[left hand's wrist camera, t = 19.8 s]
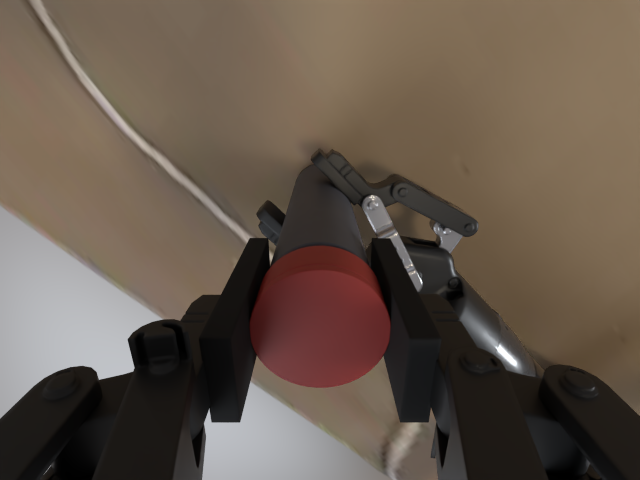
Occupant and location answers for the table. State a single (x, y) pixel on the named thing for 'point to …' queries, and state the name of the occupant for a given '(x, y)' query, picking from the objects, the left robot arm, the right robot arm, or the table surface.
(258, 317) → the lid
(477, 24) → the table surface
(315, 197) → the grey upright cylinder
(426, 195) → the right robot arm
